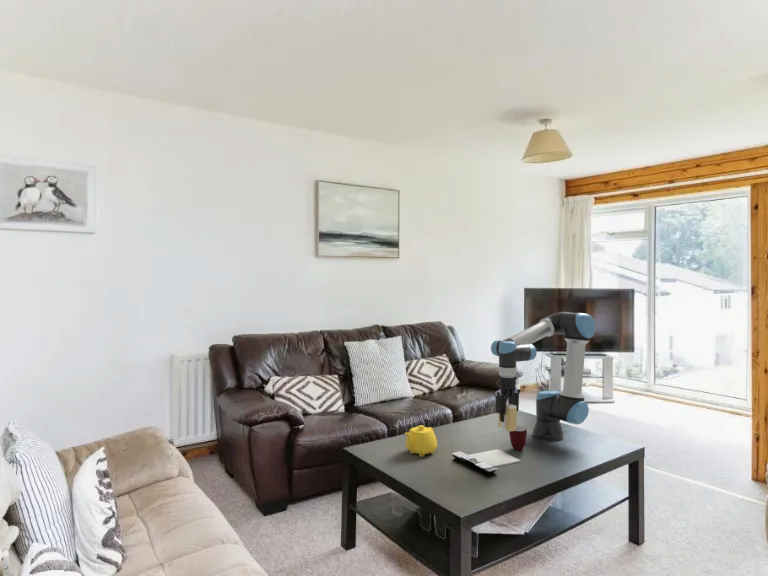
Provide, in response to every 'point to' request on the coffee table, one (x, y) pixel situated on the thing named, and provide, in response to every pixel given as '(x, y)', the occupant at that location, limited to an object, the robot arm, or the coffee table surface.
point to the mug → (518, 438)
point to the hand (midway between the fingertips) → (507, 427)
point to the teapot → (421, 440)
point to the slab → (509, 417)
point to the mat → (495, 458)
